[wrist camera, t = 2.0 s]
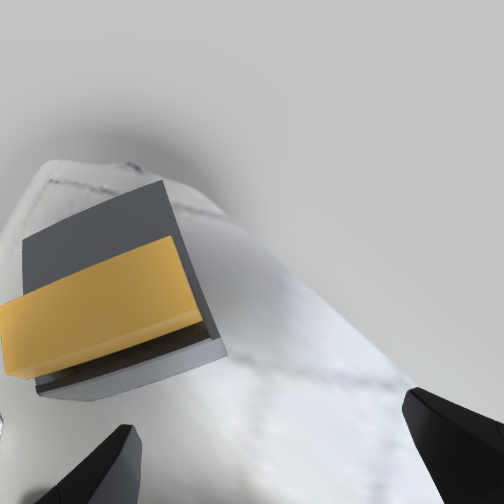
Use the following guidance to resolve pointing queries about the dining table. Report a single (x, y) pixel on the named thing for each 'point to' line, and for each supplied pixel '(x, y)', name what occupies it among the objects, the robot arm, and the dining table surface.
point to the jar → (0, 426)
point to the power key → (98, 311)
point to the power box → (101, 249)
